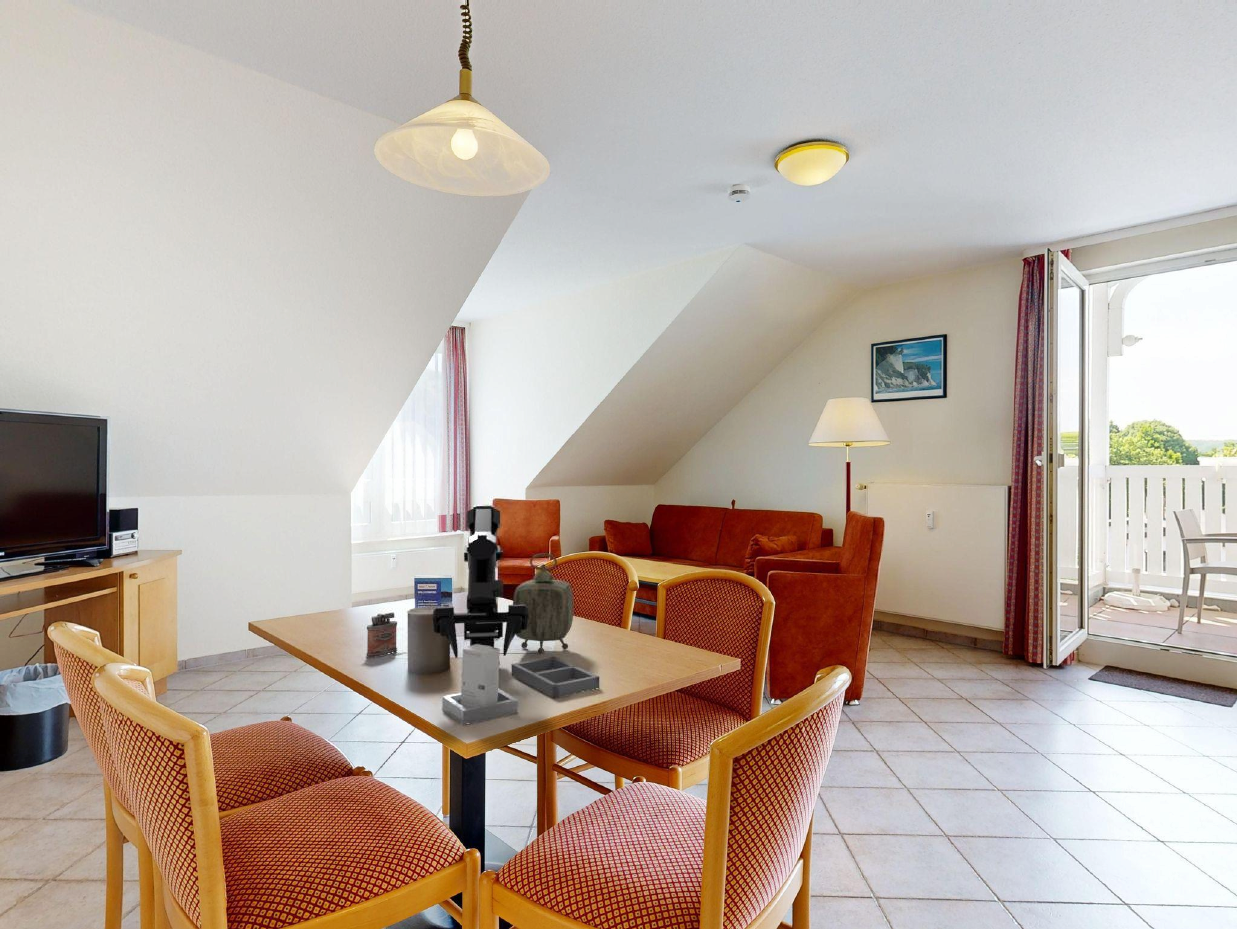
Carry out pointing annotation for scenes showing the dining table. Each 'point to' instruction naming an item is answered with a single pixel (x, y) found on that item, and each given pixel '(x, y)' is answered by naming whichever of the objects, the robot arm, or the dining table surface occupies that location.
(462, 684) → the skincare box
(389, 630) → the lighter
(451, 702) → the socket
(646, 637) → the dining table surface
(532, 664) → the rack
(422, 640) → the pillar candle
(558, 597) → the tabletop clock
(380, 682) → the dining table surface
